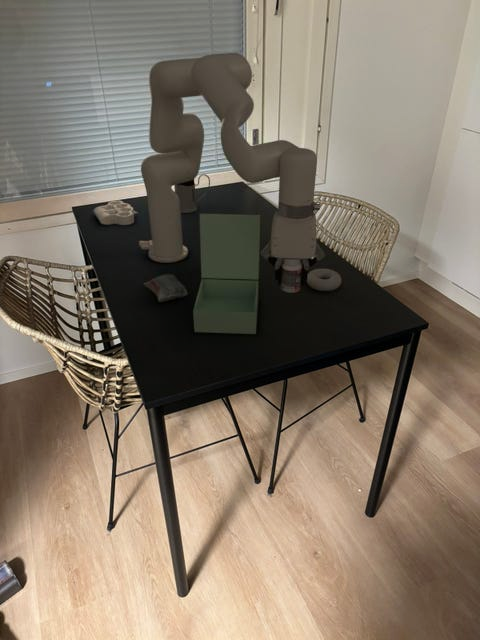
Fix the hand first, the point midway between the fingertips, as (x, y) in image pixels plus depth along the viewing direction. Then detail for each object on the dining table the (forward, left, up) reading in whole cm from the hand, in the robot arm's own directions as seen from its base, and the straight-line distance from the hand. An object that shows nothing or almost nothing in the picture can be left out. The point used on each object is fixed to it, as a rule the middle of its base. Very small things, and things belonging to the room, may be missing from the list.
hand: (290, 281), depth 117 cm
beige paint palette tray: (-62, +69, -13) cm, 94 cm away
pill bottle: (0, 0, -2) cm, 2 cm away
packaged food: (-33, +13, -13) cm, 38 cm away
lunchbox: (-15, +4, -13) cm, 20 cm away
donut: (+11, +22, -13) cm, 28 cm away
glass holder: (-35, +80, -13) cm, 88 cm away
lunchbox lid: (-15, +13, +2) cm, 20 cm away
